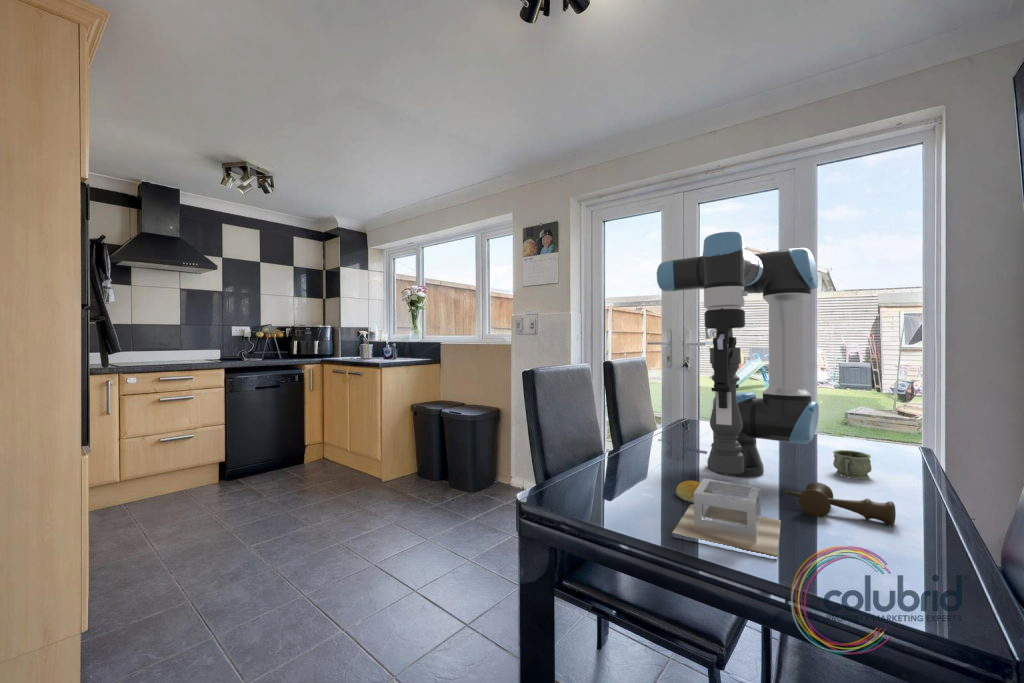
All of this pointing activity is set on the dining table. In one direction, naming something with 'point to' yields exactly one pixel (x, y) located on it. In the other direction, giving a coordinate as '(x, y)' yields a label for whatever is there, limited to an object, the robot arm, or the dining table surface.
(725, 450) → the candle holder
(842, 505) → the kendama
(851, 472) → the vessel
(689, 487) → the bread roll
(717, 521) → the grey cinder block
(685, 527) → the stand base
